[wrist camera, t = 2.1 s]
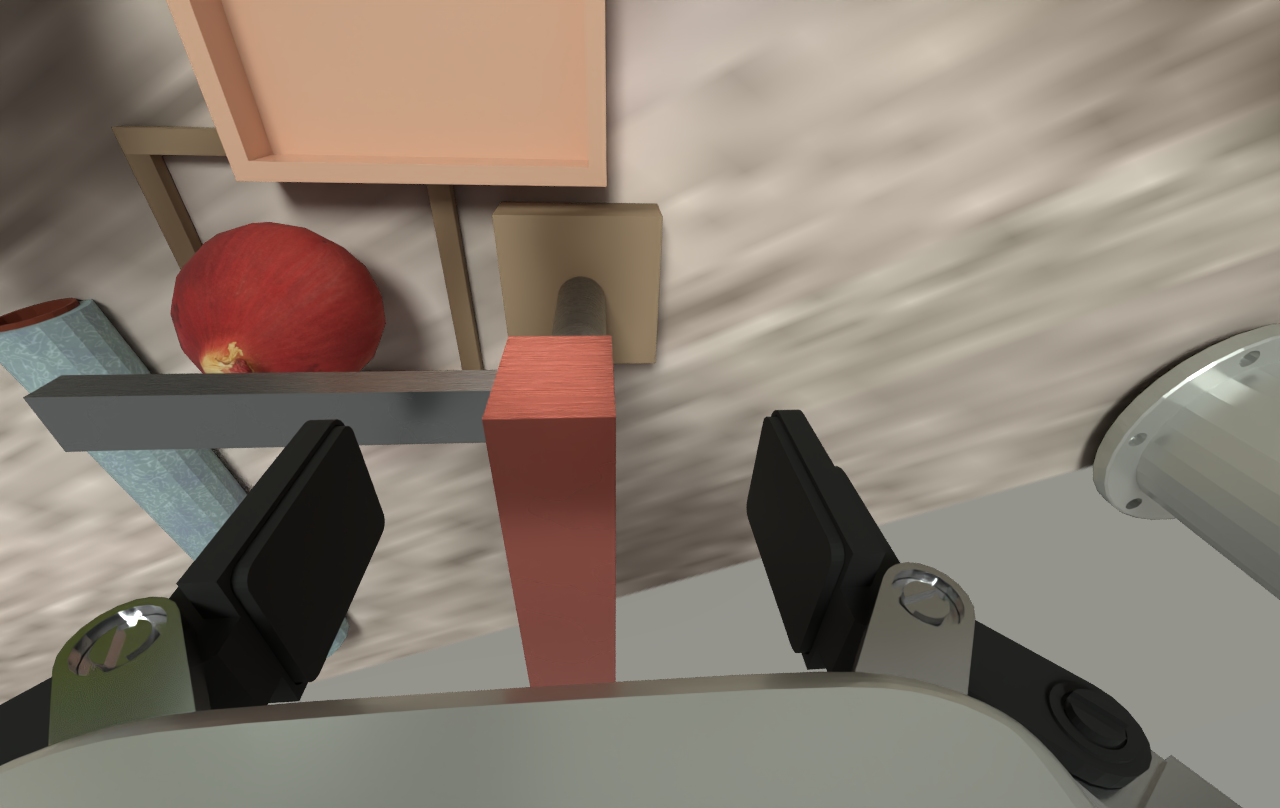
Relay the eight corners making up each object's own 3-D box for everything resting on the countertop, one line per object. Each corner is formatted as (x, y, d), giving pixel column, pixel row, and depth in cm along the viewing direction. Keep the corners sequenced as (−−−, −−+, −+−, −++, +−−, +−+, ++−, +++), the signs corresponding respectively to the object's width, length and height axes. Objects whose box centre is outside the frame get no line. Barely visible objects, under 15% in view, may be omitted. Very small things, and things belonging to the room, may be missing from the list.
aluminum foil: (358, 612, 33) (337, 663, 31) (259, 627, 33) (229, 679, 31) (111, 288, 21) (34, 324, 18) (-49, 313, 21) (-150, 353, 18)
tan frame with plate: (660, 137, 18) (666, 145, 17) (649, 384, 24) (653, 407, 23) (122, 125, 17) (72, 132, 15) (249, 390, 23) (222, 415, 21)
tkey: (603, 203, 17) (615, 417, 7) (606, 377, 21) (615, 682, 11) (190, 198, 16) (-524, 438, 6) (271, 382, 20) (-73, 722, 10)
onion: (352, 363, 23) (251, 487, 16) (223, 265, 20) (38, 366, 13) (439, 285, 21) (368, 389, 14) (313, 166, 18) (151, 225, 12)
